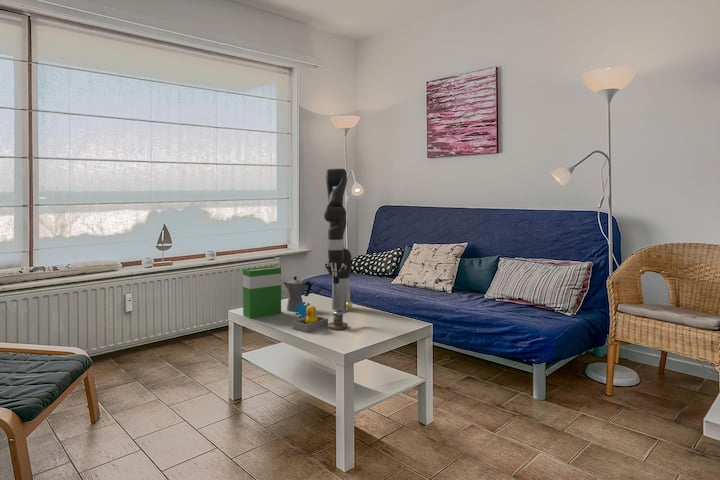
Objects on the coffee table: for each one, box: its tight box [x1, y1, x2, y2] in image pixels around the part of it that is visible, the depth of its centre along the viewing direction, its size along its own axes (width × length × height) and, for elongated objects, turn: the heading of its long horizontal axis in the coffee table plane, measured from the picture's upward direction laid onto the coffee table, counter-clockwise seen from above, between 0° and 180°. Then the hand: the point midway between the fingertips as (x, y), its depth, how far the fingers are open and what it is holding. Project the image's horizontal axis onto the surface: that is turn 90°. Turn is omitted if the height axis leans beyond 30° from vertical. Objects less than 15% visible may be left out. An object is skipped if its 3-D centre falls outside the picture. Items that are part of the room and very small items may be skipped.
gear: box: [294, 301, 311, 319], centre depth 242 cm, size 11×6×10 cm
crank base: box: [327, 314, 349, 331], centre depth 224 cm, size 9×9×6 cm
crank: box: [332, 301, 353, 316], centre depth 227 cm, size 12×4×4 cm, turn 142°
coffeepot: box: [282, 276, 313, 313], centre depth 257 cm, size 15×9×18 cm, turn 87°
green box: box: [242, 265, 282, 320], centre depth 245 cm, size 18×7×24 cm, turn 130°
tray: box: [292, 315, 329, 333], centre depth 224 cm, size 14×9×4 cm, turn 142°
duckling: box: [306, 304, 318, 324], centre depth 223 cm, size 11×5×10 cm, turn 172°
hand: (336, 283), depth 234 cm, fingers closed
